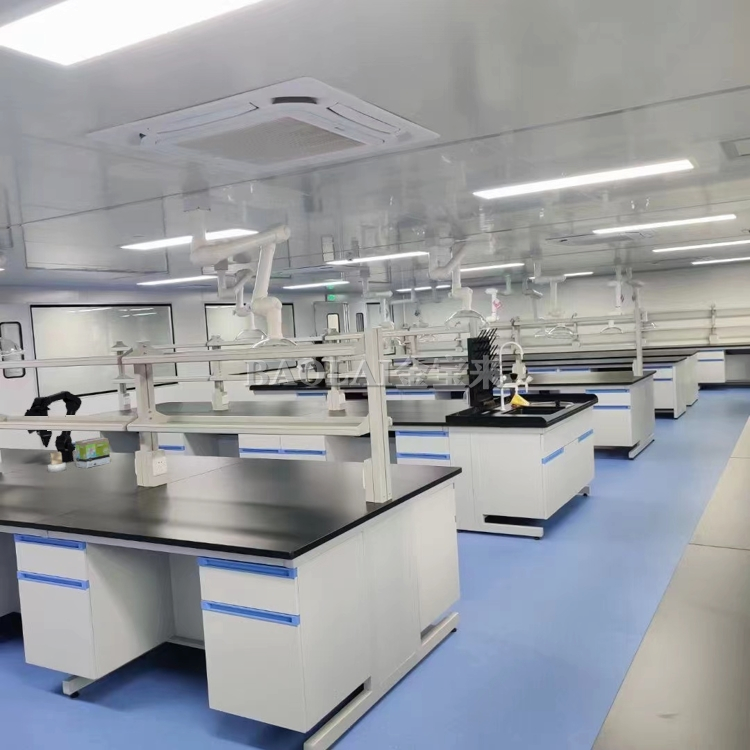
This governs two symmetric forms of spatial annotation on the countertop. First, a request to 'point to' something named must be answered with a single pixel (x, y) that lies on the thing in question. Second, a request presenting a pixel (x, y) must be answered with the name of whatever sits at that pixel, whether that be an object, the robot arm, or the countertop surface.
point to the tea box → (92, 452)
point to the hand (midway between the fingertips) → (45, 446)
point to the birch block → (56, 458)
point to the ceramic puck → (57, 467)
